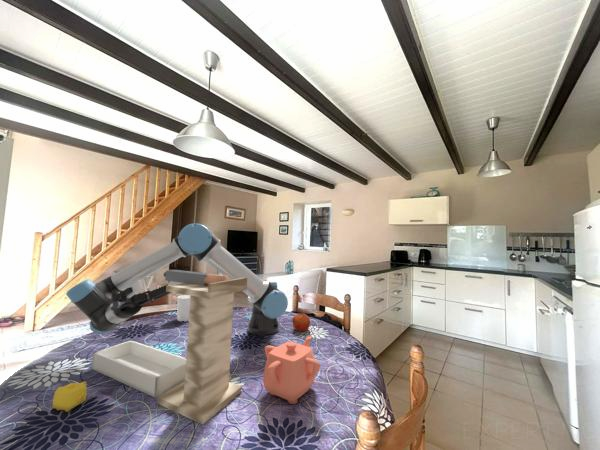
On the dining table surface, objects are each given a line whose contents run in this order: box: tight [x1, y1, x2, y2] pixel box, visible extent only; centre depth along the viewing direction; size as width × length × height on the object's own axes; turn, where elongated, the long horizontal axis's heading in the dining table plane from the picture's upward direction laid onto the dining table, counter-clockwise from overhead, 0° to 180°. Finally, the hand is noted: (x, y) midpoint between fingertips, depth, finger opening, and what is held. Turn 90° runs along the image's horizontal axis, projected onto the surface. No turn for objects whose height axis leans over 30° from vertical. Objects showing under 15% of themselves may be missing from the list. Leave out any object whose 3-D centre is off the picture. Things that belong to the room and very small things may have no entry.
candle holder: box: [176, 294, 191, 322], centre depth 130 cm, size 10×10×12 cm
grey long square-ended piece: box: [163, 269, 229, 286], centre depth 70 cm, size 24×3×3 cm, turn 65°
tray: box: [91, 340, 186, 399], centre depth 76 cm, size 32×12×5 cm, turn 65°
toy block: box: [51, 381, 88, 413], centre depth 61 cm, size 8×6×5 cm
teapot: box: [262, 334, 321, 405], centre depth 70 cm, size 17×16×13 cm
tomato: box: [292, 312, 311, 332], centre depth 119 cm, size 9×9×8 cm
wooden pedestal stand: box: [156, 277, 247, 426], centre depth 66 cm, size 16×14×32 cm
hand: (162, 281), depth 75 cm, fingers open, 13 cm apart
